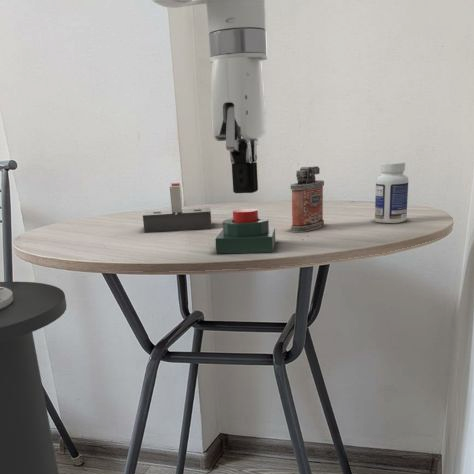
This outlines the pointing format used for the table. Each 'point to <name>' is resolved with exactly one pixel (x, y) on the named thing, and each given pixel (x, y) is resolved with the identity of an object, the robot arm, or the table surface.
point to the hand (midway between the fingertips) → (245, 192)
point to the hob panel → (177, 220)
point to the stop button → (245, 215)
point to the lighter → (307, 200)
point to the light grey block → (176, 197)
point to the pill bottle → (391, 193)
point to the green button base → (245, 237)
